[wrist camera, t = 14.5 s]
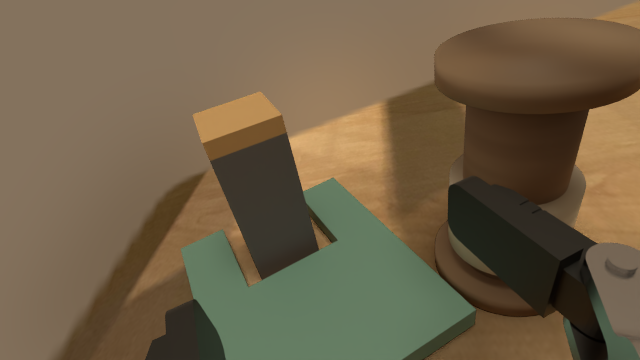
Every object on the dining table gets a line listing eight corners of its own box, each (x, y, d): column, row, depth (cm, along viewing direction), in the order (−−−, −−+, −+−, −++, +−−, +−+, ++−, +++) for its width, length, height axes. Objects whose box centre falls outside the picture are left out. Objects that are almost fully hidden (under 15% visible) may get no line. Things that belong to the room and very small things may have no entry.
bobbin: (494, 203, 24) (517, 11, 17) (606, 271, 19) (707, 30, 12) (410, 251, 22) (398, 57, 15) (508, 343, 17) (558, 105, 10)
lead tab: (298, 218, 27) (260, 91, 21) (319, 253, 23) (281, 114, 18) (247, 241, 26) (192, 114, 20) (262, 280, 22) (202, 143, 17)
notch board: (335, 189, 28) (333, 177, 28) (474, 324, 18) (475, 309, 17) (187, 260, 25) (180, 248, 24) (247, 479, 14) (238, 469, 14)
